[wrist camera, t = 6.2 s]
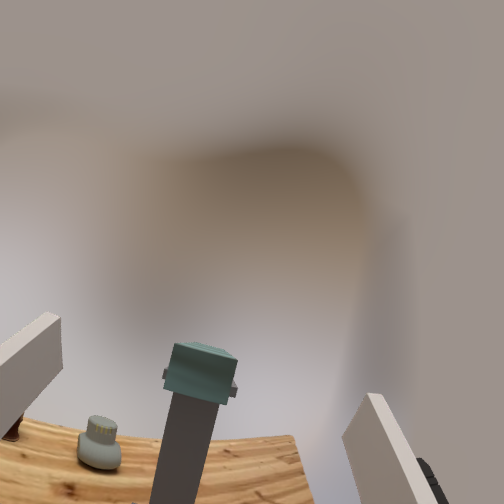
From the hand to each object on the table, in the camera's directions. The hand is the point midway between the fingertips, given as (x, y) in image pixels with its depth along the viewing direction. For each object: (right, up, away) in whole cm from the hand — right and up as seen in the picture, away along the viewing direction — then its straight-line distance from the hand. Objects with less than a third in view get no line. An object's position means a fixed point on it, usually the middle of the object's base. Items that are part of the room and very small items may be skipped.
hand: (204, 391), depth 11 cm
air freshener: (-29, -36, +34) cm, 57 cm away
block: (-3, -7, +18) cm, 20 cm away
